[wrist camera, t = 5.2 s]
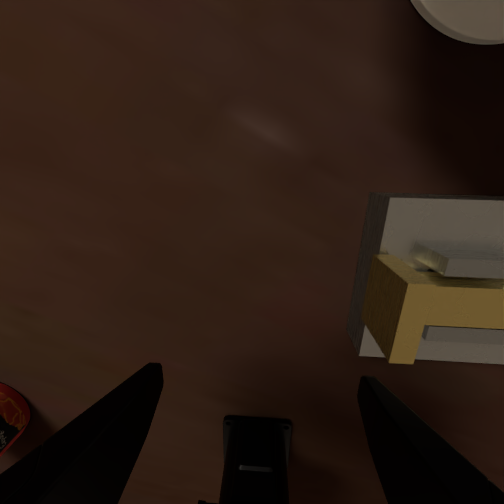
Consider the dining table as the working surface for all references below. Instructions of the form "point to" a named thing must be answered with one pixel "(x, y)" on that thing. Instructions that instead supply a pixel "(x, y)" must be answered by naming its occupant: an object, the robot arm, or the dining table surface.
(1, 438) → the canned food
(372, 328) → the key
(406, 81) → the dining table surface
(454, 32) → the decorative vase
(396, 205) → the socket
